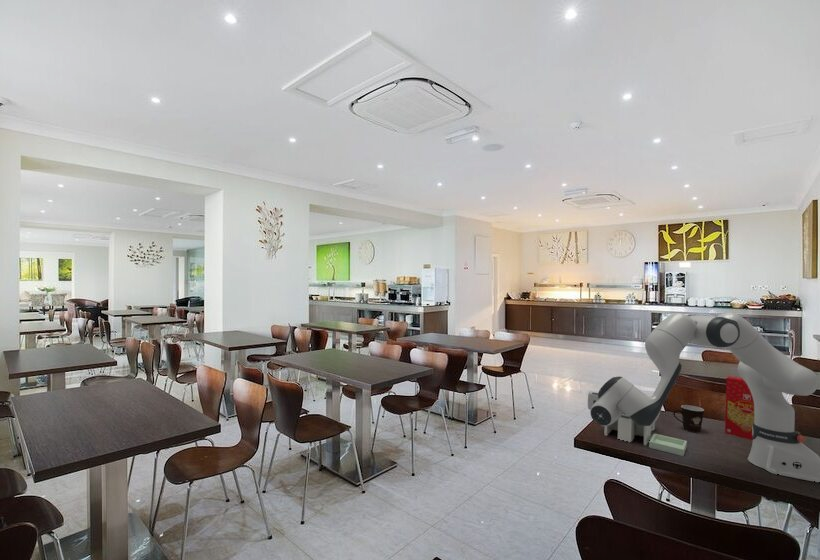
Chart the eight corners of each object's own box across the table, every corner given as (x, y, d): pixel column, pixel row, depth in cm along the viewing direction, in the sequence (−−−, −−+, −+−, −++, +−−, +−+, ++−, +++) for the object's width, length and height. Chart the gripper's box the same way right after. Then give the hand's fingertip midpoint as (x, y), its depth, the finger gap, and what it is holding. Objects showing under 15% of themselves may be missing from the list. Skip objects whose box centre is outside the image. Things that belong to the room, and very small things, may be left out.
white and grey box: (634, 437, 173) (635, 409, 173) (630, 443, 167) (631, 414, 167) (621, 434, 176) (622, 407, 176) (617, 439, 170) (617, 411, 170)
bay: (651, 437, 173) (652, 402, 173) (646, 445, 165) (647, 408, 165) (610, 428, 183) (611, 395, 183) (604, 435, 175) (605, 400, 175)
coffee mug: (702, 429, 185) (703, 407, 185) (704, 435, 178) (704, 412, 178) (672, 423, 192) (673, 402, 192) (672, 429, 184) (673, 407, 184)
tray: (686, 447, 164) (686, 440, 164) (683, 456, 155) (683, 449, 155) (653, 439, 172) (654, 433, 172) (649, 447, 163) (649, 441, 163)
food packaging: (725, 433, 181) (726, 377, 181) (727, 430, 184) (729, 376, 184) (768, 444, 170) (770, 384, 169) (770, 441, 173) (772, 382, 173)
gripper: (643, 403, 145) (650, 395, 156) (584, 392, 158) (594, 385, 169) (643, 420, 145) (649, 411, 156) (583, 408, 158) (593, 400, 169)
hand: (620, 398), depth 162 cm, fingers open, 8 cm apart
